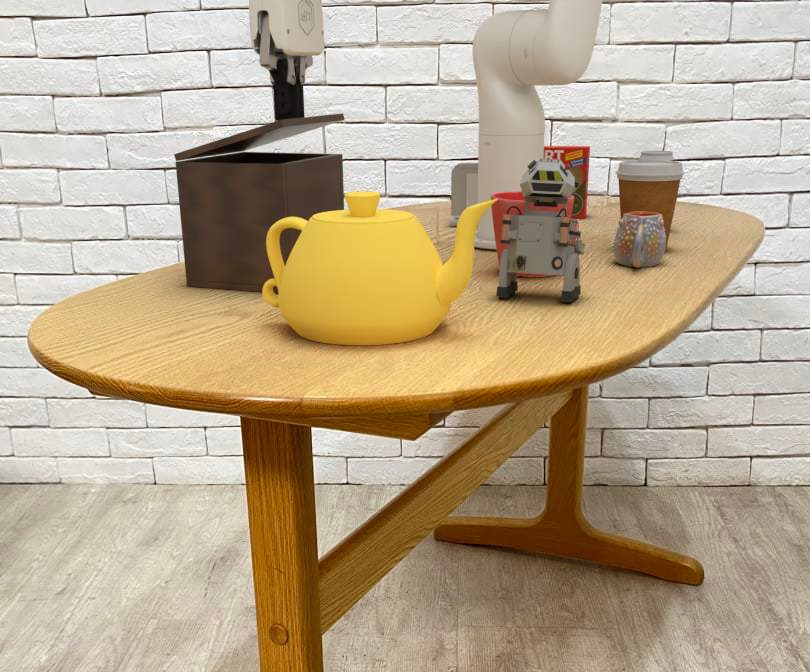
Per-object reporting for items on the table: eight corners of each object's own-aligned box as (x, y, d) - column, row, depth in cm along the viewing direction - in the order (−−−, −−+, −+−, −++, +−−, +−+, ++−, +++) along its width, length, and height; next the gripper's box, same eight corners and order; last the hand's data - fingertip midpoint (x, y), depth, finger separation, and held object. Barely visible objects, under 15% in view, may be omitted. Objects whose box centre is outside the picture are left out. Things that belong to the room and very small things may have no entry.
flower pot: (585, 269, 144) (589, 192, 140) (546, 283, 136) (549, 201, 132) (514, 262, 150) (516, 188, 146) (473, 275, 141) (474, 197, 137)
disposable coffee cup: (683, 246, 160) (691, 160, 156) (669, 256, 152) (677, 166, 148) (620, 243, 164) (625, 159, 159) (603, 252, 156) (608, 164, 151)
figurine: (592, 289, 132) (600, 158, 126) (567, 307, 122) (574, 166, 116) (520, 284, 135) (524, 156, 129) (490, 302, 126) (493, 164, 120)
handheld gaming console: (531, 220, 188) (534, 159, 184) (529, 227, 180) (531, 163, 176) (456, 219, 190) (456, 158, 186) (450, 226, 182) (451, 163, 178)
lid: (344, 119, 136) (343, 113, 136) (283, 127, 123) (281, 119, 123) (243, 151, 144) (242, 144, 143) (175, 161, 131) (173, 154, 130)
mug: (615, 258, 152) (618, 208, 149) (666, 259, 150) (670, 209, 147) (604, 273, 141) (608, 220, 139) (658, 275, 140) (663, 221, 137)
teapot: (510, 317, 118) (514, 185, 113) (475, 357, 103) (477, 206, 97) (294, 306, 125) (288, 180, 119) (230, 342, 109) (219, 199, 103)
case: (346, 272, 144) (342, 154, 138) (288, 294, 131) (281, 164, 125) (251, 265, 150) (243, 151, 144) (186, 286, 137) (175, 161, 131)
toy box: (481, 216, 193) (483, 147, 188) (485, 213, 197) (486, 145, 192) (584, 218, 189) (588, 148, 185) (586, 215, 193) (590, 146, 188)
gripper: (277, -61, 116) (286, 124, 123) (341, -49, 129) (345, 118, 136) (217, -57, 119) (229, 123, 126) (285, -46, 131) (292, 117, 139)
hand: (289, 120), depth 131 cm, fingers closed
